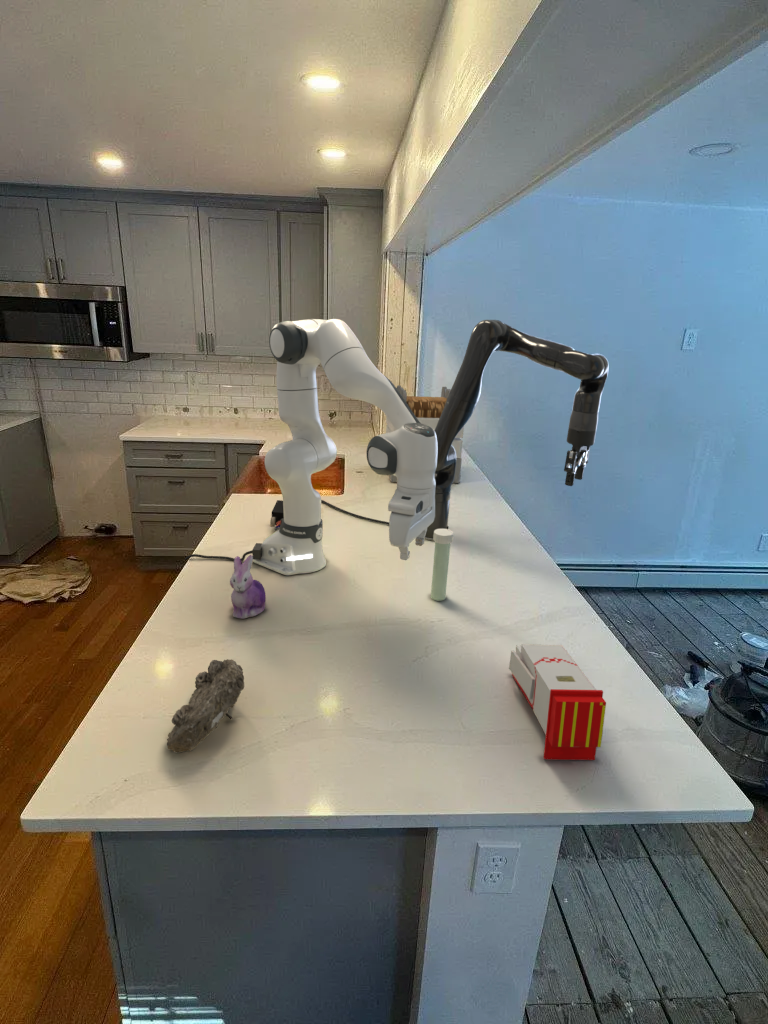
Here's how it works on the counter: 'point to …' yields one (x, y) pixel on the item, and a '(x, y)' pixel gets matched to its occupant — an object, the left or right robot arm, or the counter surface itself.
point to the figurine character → (277, 514)
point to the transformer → (430, 421)
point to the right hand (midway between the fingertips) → (573, 482)
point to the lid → (443, 536)
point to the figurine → (246, 590)
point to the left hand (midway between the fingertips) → (412, 551)
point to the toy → (560, 700)
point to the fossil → (206, 705)
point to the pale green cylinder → (440, 571)
